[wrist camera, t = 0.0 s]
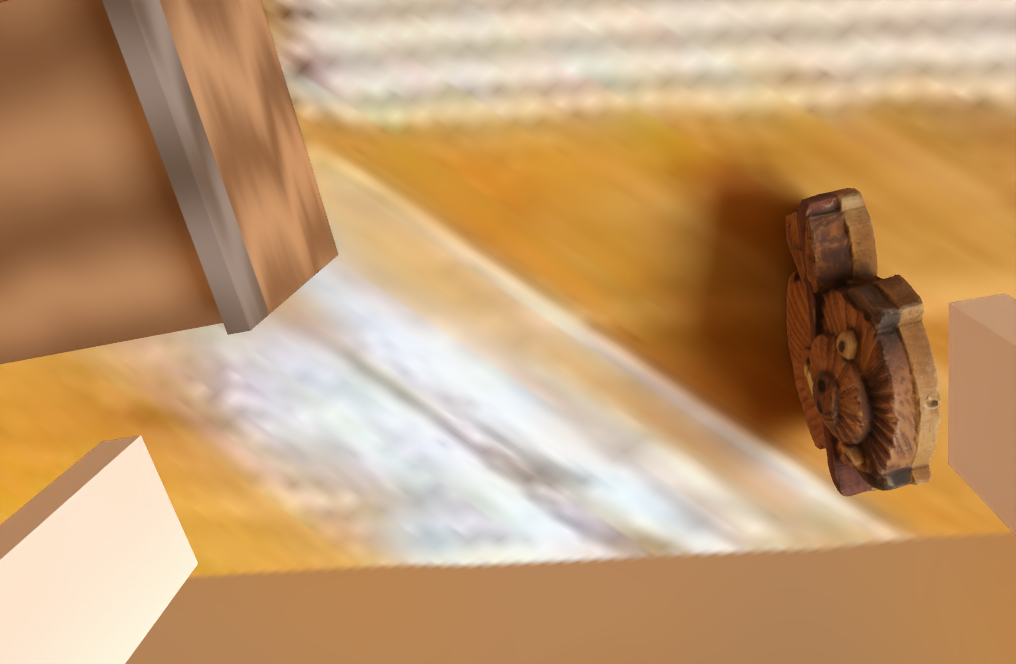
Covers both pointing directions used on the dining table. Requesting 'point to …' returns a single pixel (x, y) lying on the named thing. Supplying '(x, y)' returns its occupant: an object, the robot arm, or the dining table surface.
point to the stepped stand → (147, 173)
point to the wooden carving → (858, 350)
